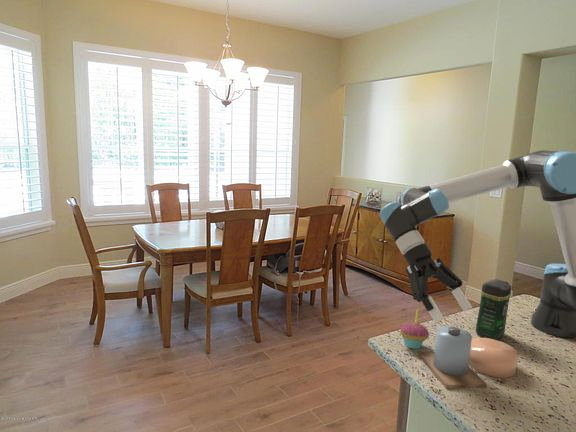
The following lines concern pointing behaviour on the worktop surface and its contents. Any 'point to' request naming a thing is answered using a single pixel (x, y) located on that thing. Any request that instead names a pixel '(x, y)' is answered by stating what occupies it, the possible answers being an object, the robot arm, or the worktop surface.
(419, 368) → the worktop surface
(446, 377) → the mat
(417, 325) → the cupcake
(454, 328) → the blue-grey knobbed jar
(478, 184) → the robot arm
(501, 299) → the coffee jar
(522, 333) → the worktop surface
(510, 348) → the peach round dome
